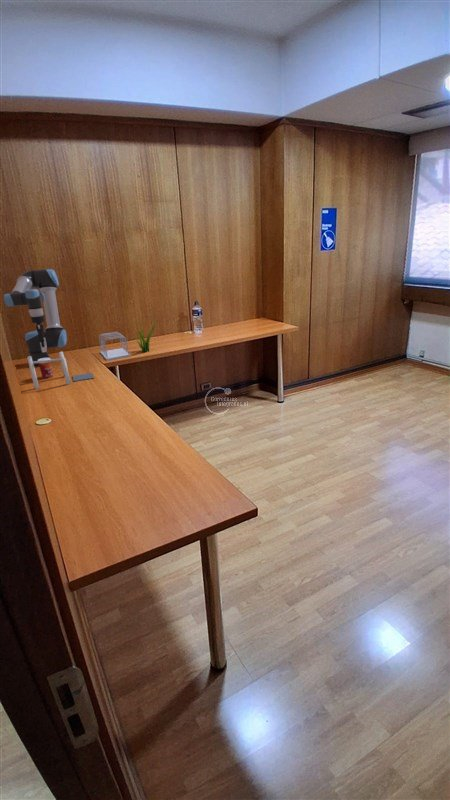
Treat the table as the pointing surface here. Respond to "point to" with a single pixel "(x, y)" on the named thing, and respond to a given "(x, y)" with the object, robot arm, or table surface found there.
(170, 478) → the table surface
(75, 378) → the mat
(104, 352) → the file sorter
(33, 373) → the white hurdle
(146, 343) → the decorative plant
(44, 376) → the coffee cup
